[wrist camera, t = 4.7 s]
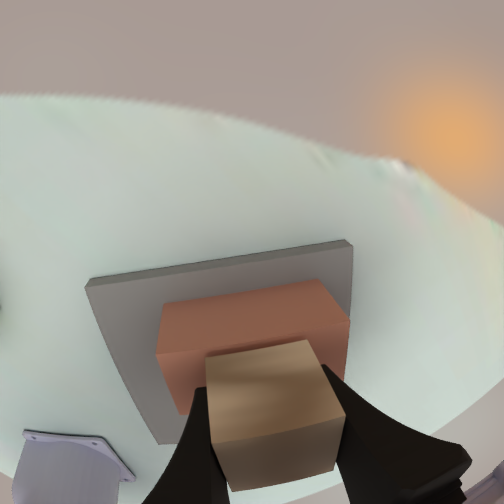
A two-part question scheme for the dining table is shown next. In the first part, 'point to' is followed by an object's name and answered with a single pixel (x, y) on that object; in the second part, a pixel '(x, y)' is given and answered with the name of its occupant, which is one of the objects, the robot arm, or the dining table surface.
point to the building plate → (187, 288)
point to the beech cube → (272, 415)
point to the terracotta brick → (247, 331)
